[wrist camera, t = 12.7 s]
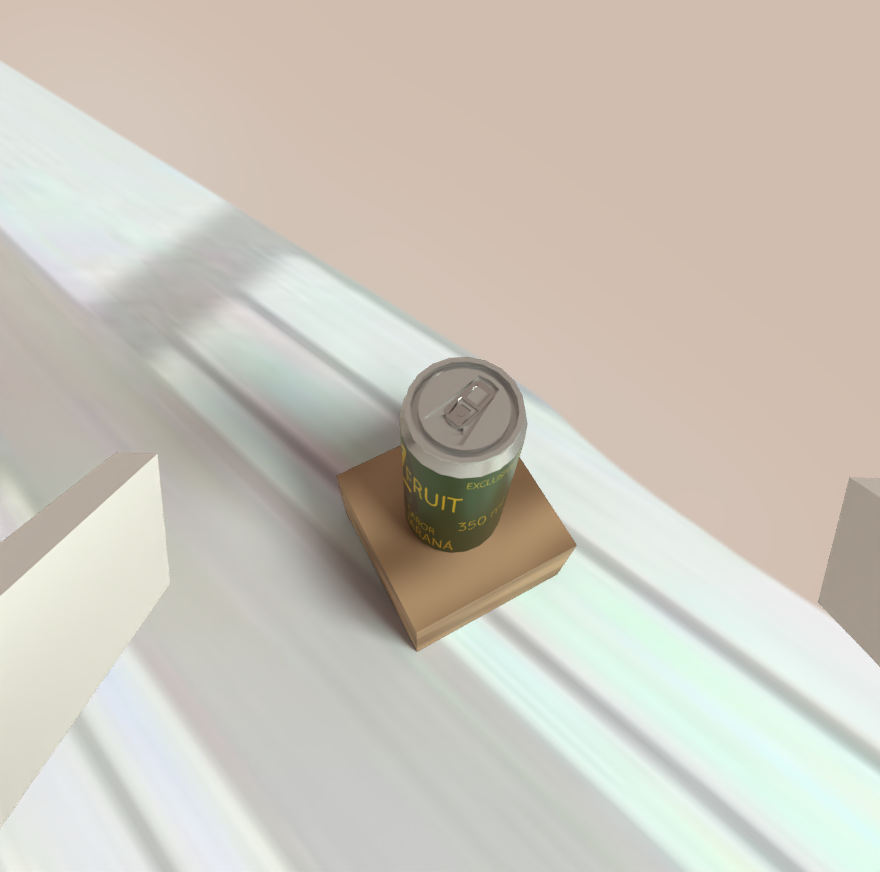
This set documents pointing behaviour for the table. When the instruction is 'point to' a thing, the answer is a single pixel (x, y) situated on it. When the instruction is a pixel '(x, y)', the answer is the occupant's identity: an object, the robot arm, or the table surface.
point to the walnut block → (451, 574)
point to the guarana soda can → (459, 451)
